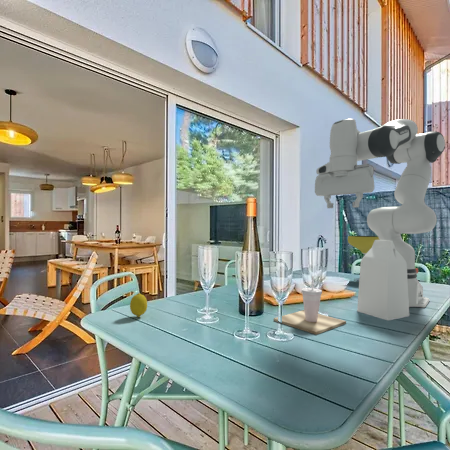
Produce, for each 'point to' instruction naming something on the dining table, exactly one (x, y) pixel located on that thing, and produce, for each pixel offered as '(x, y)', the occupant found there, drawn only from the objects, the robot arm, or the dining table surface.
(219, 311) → the dining table surface
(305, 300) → the smoothie
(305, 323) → the oak board
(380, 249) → the milk
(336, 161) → the robot arm
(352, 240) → the cocktail glass
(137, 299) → the lemon
